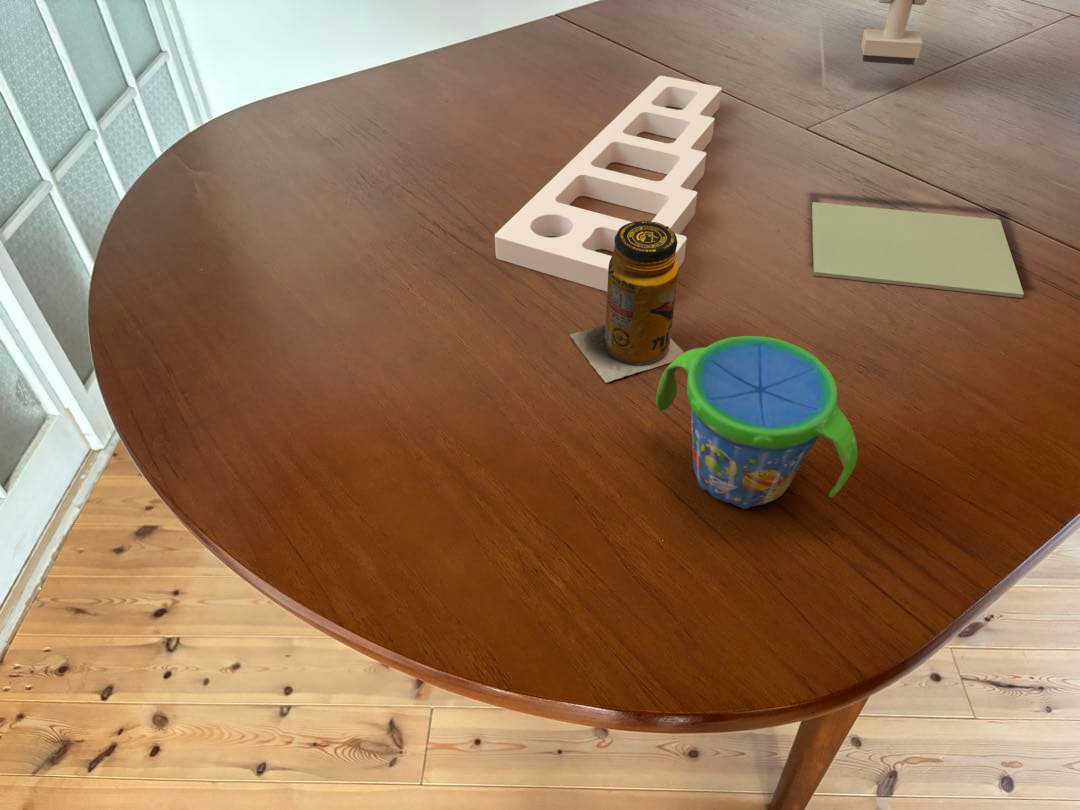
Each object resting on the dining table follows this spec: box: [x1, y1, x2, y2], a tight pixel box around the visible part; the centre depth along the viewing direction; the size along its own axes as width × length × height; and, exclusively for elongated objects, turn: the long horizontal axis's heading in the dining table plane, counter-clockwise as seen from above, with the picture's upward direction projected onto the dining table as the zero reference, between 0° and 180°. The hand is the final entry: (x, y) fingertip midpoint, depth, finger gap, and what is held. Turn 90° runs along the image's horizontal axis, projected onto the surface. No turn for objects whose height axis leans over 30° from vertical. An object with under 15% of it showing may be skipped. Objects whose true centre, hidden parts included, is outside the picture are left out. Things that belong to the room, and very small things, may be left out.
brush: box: [860, 0, 923, 66], centre depth 110 cm, size 7×4×13 cm, turn 78°
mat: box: [811, 201, 1025, 299], centre depth 91 cm, size 20×14×1 cm
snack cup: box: [655, 335, 858, 510], centre depth 65 cm, size 16×10×10 cm
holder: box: [494, 75, 723, 293], centre depth 101 cm, size 45×18×3 cm, turn 152°
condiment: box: [569, 220, 686, 383], centre depth 76 cm, size 7×8×12 cm
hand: (902, 2), depth 109 cm, fingers closed on brush, 2 cm apart
